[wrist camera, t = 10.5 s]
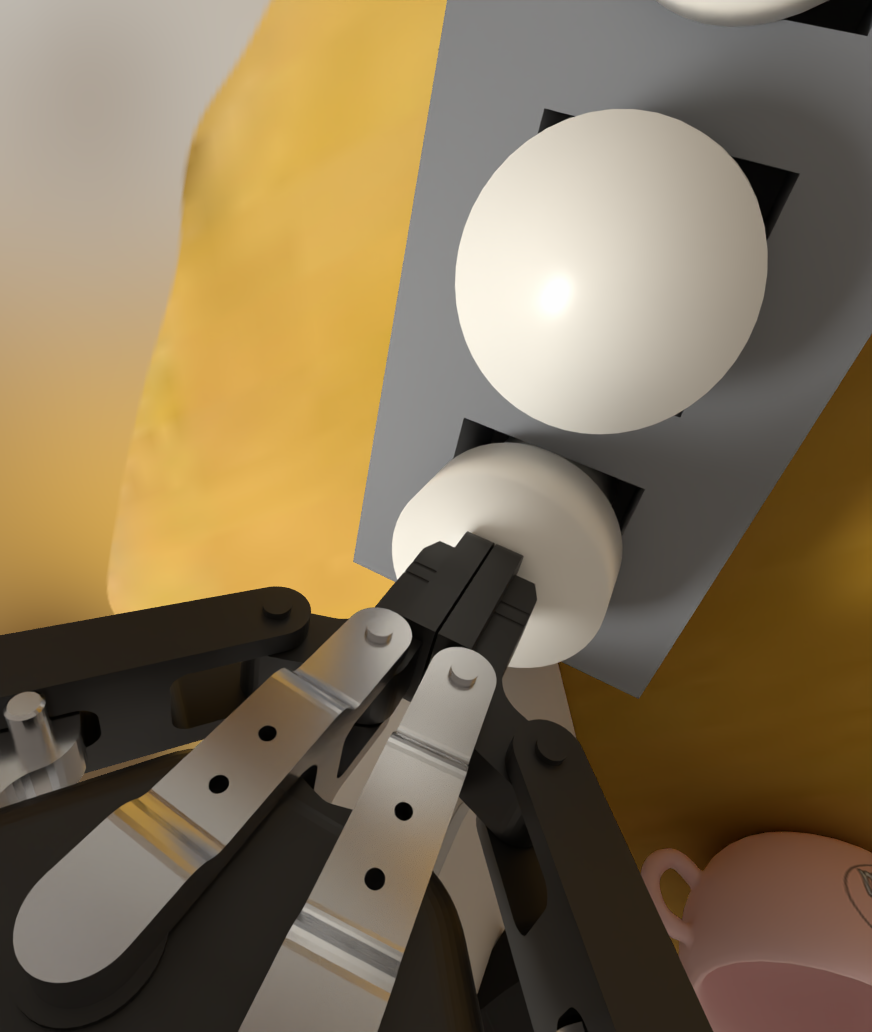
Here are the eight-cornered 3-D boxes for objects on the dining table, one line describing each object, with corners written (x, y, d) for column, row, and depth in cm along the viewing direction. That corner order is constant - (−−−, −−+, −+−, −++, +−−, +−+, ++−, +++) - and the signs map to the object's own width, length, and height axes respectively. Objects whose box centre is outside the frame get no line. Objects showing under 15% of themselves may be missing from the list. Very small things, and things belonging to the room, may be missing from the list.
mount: (1239, -395, 9) (1588, -792, 6) (658, 603, 22) (638, 698, 18) (627, -418, 12) (565, -710, 8) (417, 497, 24) (353, 561, 20)
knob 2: (675, 434, 17) (647, 536, 13) (604, 577, 21) (561, 701, 16) (498, 368, 19) (413, 438, 14) (457, 513, 22) (377, 609, 17)
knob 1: (810, 159, 14) (842, 158, 9) (698, 387, 17) (677, 475, 12) (576, 101, 15) (496, 72, 10) (513, 322, 18) (430, 379, 13)
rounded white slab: (682, 1001, 33) (631, 1630, 19) (548, 959, 37) (422, 1458, 23) (592, 551, 22) (316, 1231, 8) (415, 557, 26) (15, 1028, 12)
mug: (1040, 893, 21) (1122, 1099, 17) (873, 994, 27) (899, 1169, 22) (699, 735, 24) (687, 872, 20) (613, 855, 30) (587, 984, 25)
